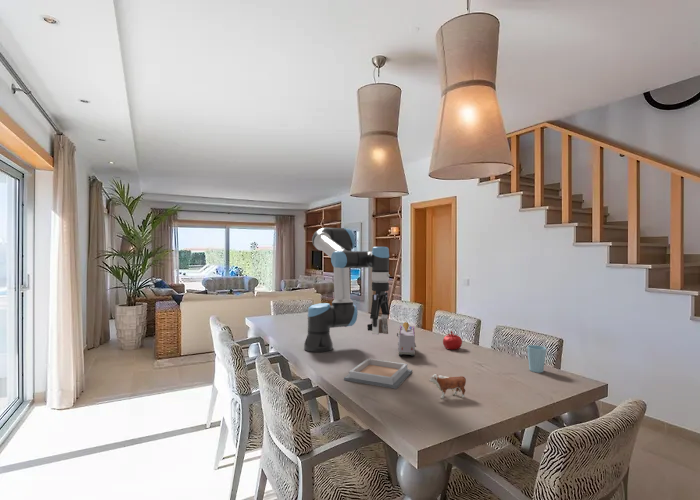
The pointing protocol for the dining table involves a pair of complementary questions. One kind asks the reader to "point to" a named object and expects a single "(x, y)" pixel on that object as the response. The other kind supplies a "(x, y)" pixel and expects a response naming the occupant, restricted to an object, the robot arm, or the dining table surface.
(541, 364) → the cup
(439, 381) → the bull figurine
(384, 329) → the caster wheel
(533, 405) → the dining table surface
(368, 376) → the tray
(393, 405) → the dining table surface
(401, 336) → the toy vehicle
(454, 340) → the pomegranate
